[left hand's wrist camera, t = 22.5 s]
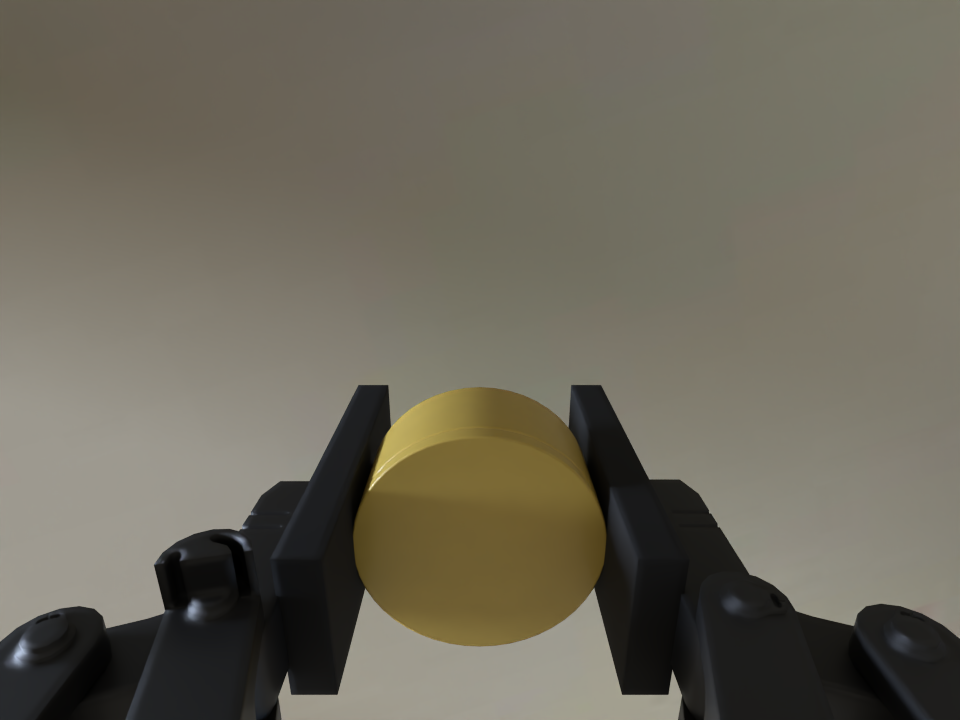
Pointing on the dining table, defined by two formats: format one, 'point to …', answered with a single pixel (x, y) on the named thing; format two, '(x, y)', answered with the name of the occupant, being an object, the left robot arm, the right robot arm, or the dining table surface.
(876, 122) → the dining table surface
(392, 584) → the lid
